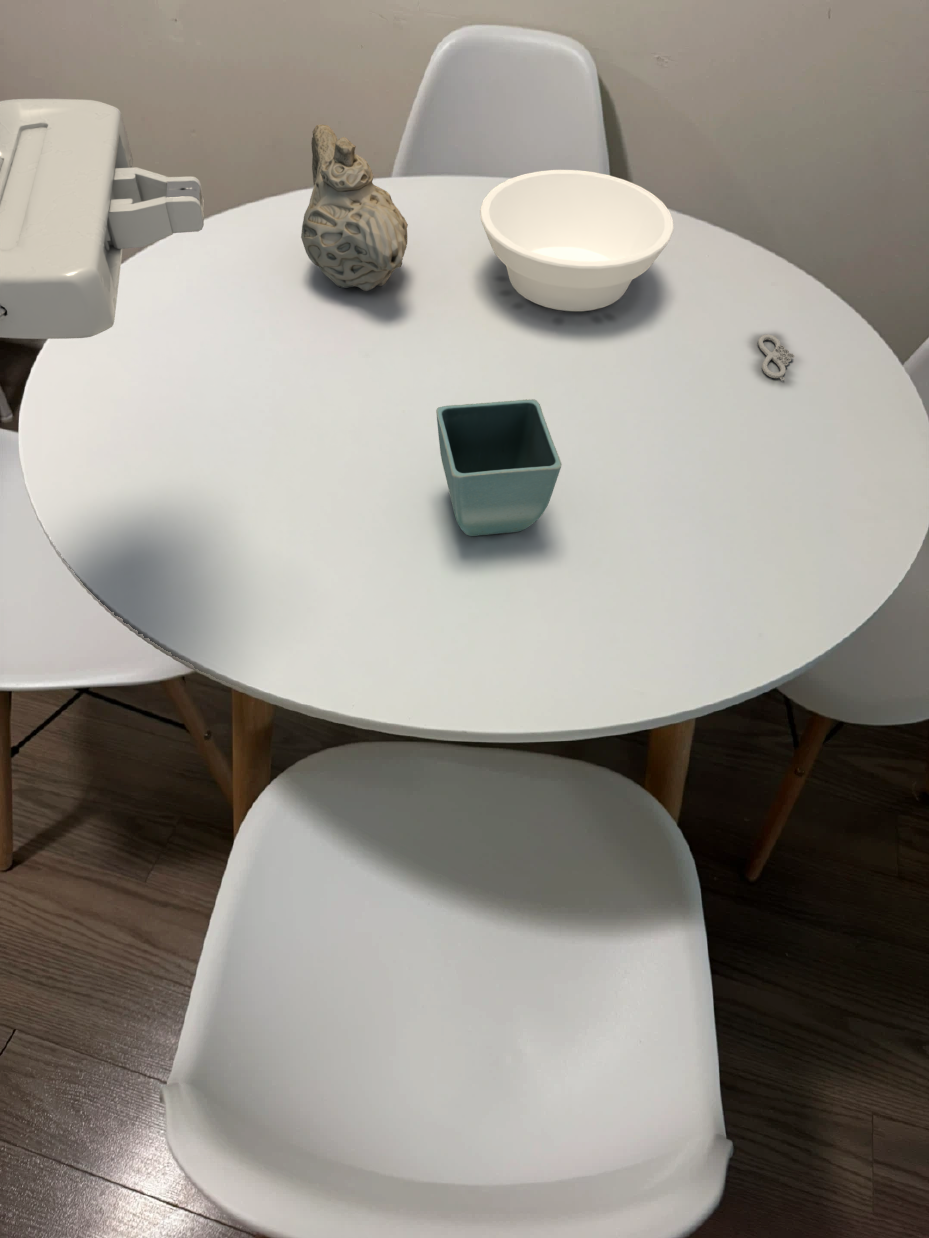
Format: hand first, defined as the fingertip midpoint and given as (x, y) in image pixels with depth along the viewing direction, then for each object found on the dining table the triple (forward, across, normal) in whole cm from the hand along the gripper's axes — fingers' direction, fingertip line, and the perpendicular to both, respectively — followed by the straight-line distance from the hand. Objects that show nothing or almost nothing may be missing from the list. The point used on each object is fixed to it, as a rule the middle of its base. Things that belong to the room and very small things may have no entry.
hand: (202, 203), depth 50 cm
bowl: (+35, +38, +30) cm, 60 cm away
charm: (+54, +21, +30) cm, 65 cm away
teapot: (+11, +43, +30) cm, 54 cm away
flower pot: (+19, +2, +30) cm, 36 cm away
